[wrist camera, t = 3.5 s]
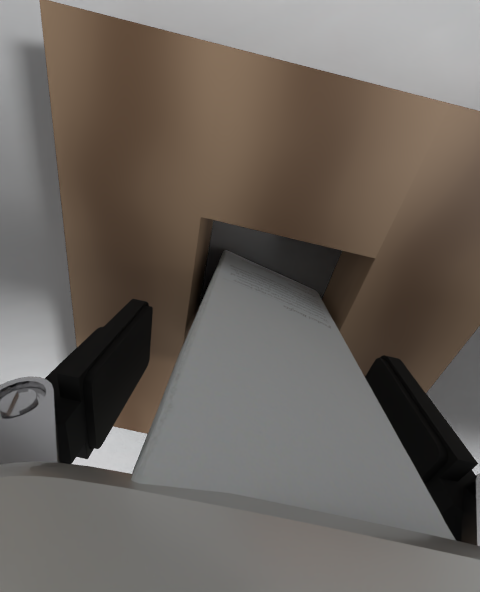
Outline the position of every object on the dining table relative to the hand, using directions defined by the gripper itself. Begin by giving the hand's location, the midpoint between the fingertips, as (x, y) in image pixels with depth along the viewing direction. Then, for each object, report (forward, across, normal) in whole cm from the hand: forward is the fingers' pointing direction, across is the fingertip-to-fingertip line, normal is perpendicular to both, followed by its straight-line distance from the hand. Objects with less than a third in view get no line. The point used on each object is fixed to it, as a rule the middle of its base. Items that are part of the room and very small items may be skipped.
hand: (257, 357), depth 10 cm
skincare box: (+6, 0, 0) cm, 6 cm away
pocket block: (+5, 0, 0) cm, 5 cm away
